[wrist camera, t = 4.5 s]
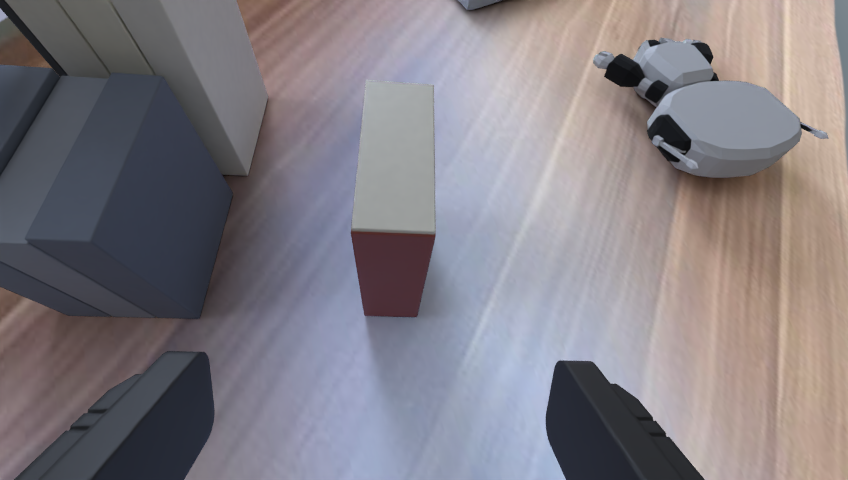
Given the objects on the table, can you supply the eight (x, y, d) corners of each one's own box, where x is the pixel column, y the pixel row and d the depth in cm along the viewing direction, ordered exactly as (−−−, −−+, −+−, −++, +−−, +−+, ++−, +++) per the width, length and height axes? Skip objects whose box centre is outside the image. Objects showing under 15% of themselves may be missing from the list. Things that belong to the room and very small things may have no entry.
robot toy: (572, 82, 38) (667, 207, 30) (592, 36, 34) (707, 166, 26) (679, 64, 40) (791, 176, 33) (709, 19, 36) (844, 134, 29)
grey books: (56, 315, 23) (-218, 202, 13) (113, 187, 27) (-59, 22, 17) (199, 319, 24) (50, 213, 13) (233, 193, 28) (141, 37, 17)
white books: (141, 171, 28) (-48, -46, 16) (174, 90, 32) (42, -137, 20) (248, 176, 29) (144, -30, 16) (268, 96, 33) (196, -121, 20)
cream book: (364, 317, 25) (350, 230, 15) (372, 205, 29) (365, 79, 19) (416, 318, 25) (436, 234, 15) (418, 208, 29) (434, 84, 19)
